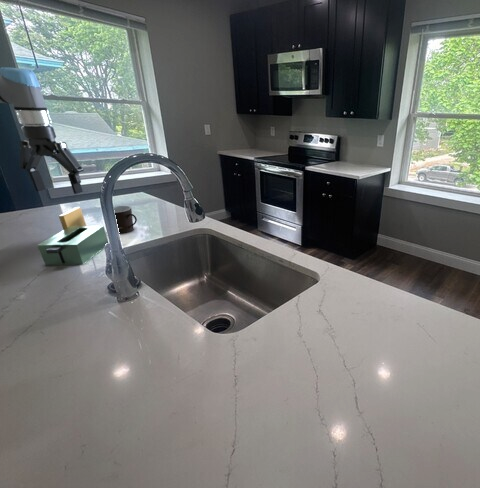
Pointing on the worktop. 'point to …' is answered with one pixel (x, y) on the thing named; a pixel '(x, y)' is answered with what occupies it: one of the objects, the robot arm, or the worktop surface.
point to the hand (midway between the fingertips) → (59, 191)
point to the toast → (72, 218)
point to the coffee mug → (124, 219)
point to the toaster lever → (54, 250)
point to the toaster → (74, 245)
